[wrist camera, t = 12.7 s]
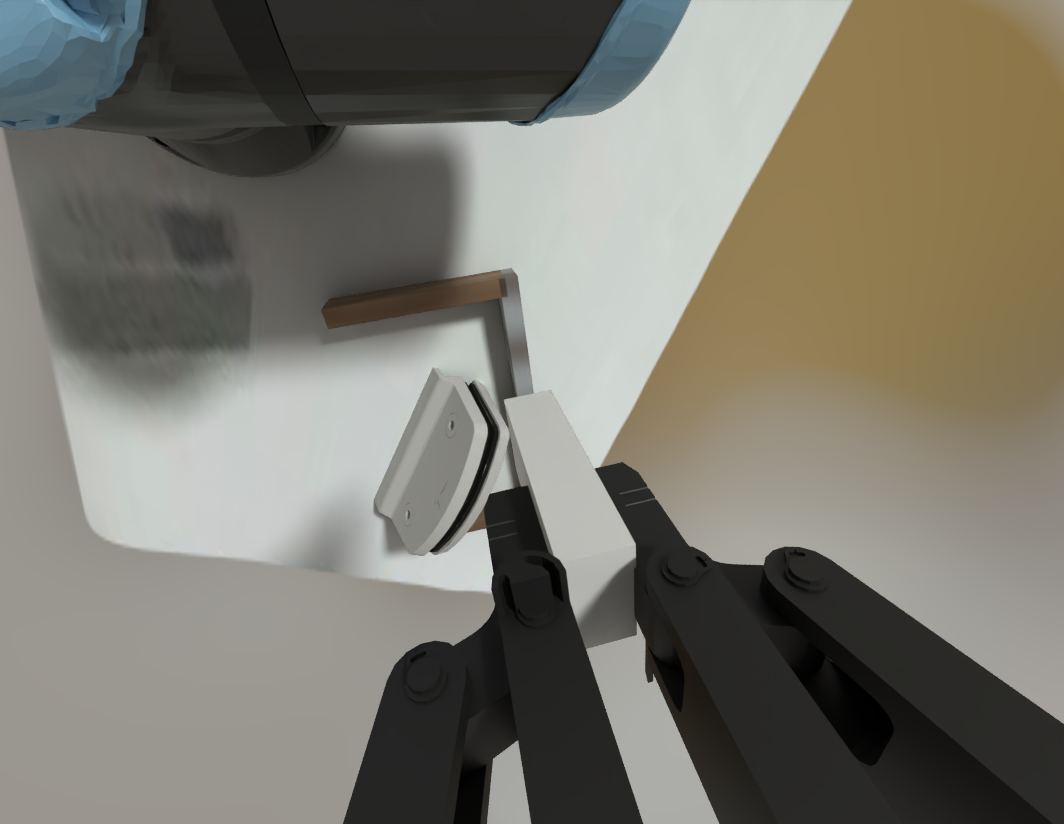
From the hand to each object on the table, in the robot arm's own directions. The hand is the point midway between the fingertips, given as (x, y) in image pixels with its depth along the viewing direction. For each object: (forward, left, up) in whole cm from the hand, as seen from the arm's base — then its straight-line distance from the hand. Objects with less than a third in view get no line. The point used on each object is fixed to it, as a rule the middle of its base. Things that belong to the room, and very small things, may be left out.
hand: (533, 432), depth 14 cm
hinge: (+17, -6, -27) cm, 32 cm away
